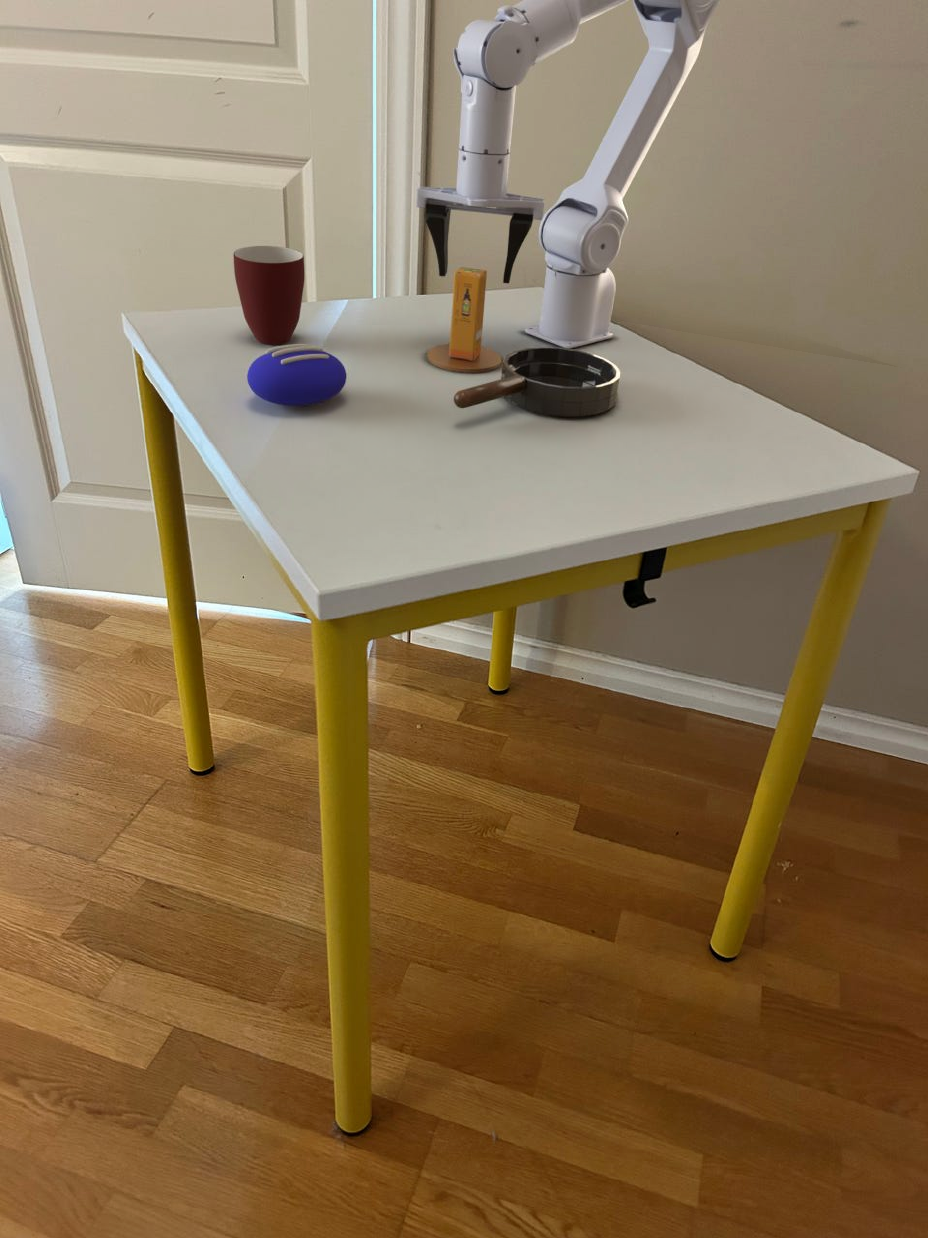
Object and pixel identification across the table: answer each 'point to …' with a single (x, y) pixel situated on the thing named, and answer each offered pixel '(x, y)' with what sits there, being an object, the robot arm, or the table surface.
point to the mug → (270, 290)
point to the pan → (562, 381)
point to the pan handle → (489, 391)
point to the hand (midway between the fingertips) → (474, 277)
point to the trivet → (464, 360)
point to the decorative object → (296, 375)
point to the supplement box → (467, 313)
